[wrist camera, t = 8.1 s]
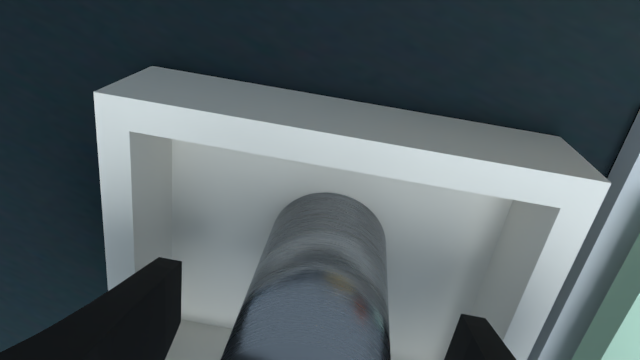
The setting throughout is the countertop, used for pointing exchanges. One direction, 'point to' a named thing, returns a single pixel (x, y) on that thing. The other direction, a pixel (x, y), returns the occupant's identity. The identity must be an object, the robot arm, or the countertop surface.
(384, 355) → the cell
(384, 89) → the countertop surface
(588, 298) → the base
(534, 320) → the white tray
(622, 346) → the mint green flat block
